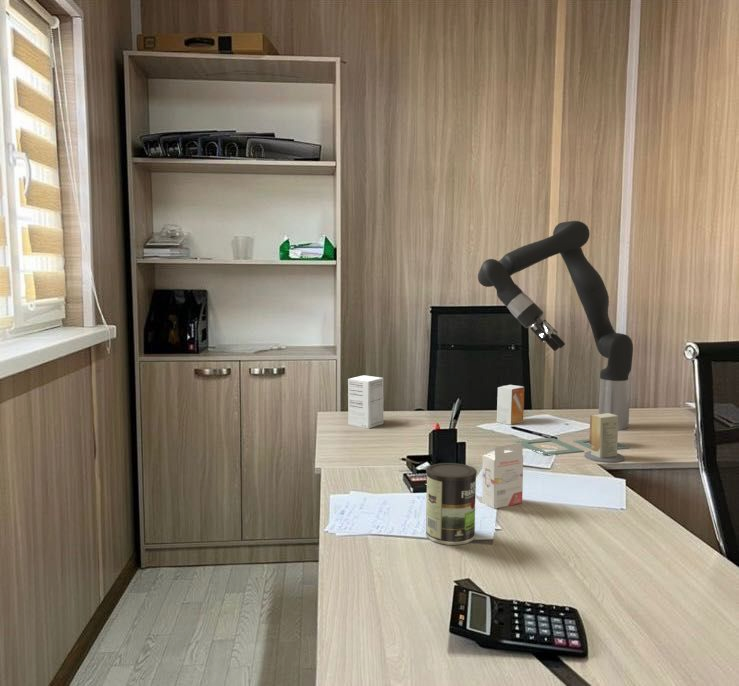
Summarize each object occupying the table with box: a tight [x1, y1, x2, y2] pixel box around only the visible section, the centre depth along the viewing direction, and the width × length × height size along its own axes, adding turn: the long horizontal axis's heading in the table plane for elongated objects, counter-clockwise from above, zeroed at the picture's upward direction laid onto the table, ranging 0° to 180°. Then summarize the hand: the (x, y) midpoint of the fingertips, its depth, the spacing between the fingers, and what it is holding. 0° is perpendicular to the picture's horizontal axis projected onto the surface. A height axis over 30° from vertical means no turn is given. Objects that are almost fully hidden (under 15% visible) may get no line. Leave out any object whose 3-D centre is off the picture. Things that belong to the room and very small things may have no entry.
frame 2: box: [572, 438, 631, 451], centre depth 211 cm, size 12×12×1 cm
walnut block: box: [588, 415, 592, 445], centre depth 211 cm, size 5×5×9 cm
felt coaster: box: [584, 450, 625, 464], centre depth 198 cm, size 11×11×1 cm
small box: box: [496, 384, 525, 426], centre depth 242 cm, size 8×6×13 cm
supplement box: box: [347, 375, 384, 430], centre depth 237 cm, size 10×9×17 cm
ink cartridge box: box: [481, 442, 524, 509], centre depth 158 cm, size 9×5×15 cm, turn 118°
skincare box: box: [590, 413, 619, 458], centre depth 197 cm, size 6×4×12 cm
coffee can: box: [425, 462, 477, 546], centre depth 139 cm, size 10×10×14 cm
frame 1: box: [515, 437, 585, 456], centre depth 209 cm, size 14×16×1 cm
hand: (560, 347), depth 210 cm, fingers open, 8 cm apart
